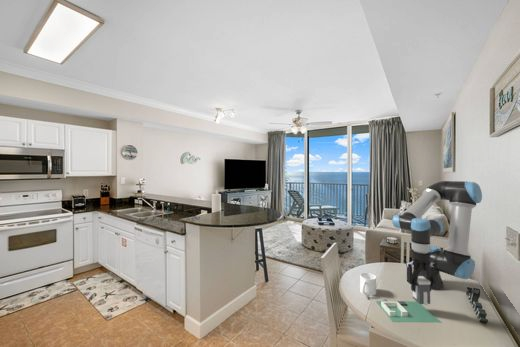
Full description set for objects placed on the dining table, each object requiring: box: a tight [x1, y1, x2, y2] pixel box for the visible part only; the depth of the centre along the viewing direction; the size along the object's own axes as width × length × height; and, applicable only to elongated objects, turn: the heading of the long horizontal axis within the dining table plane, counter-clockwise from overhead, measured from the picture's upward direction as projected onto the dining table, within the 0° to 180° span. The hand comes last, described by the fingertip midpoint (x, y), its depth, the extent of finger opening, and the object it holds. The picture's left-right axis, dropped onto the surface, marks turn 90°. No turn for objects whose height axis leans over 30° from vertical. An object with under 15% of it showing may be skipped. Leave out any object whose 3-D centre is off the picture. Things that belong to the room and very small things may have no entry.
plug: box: [412, 276, 431, 306], centre depth 108 cm, size 5×6×11 cm
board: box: [375, 298, 442, 323], centre depth 109 cm, size 22×16×3 cm
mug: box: [359, 272, 377, 298], centre depth 125 cm, size 12×8×10 cm
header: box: [380, 300, 408, 316], centre depth 109 cm, size 8×8×2 cm
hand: (421, 297), depth 109 cm, fingers closed on plug, 5 cm apart
